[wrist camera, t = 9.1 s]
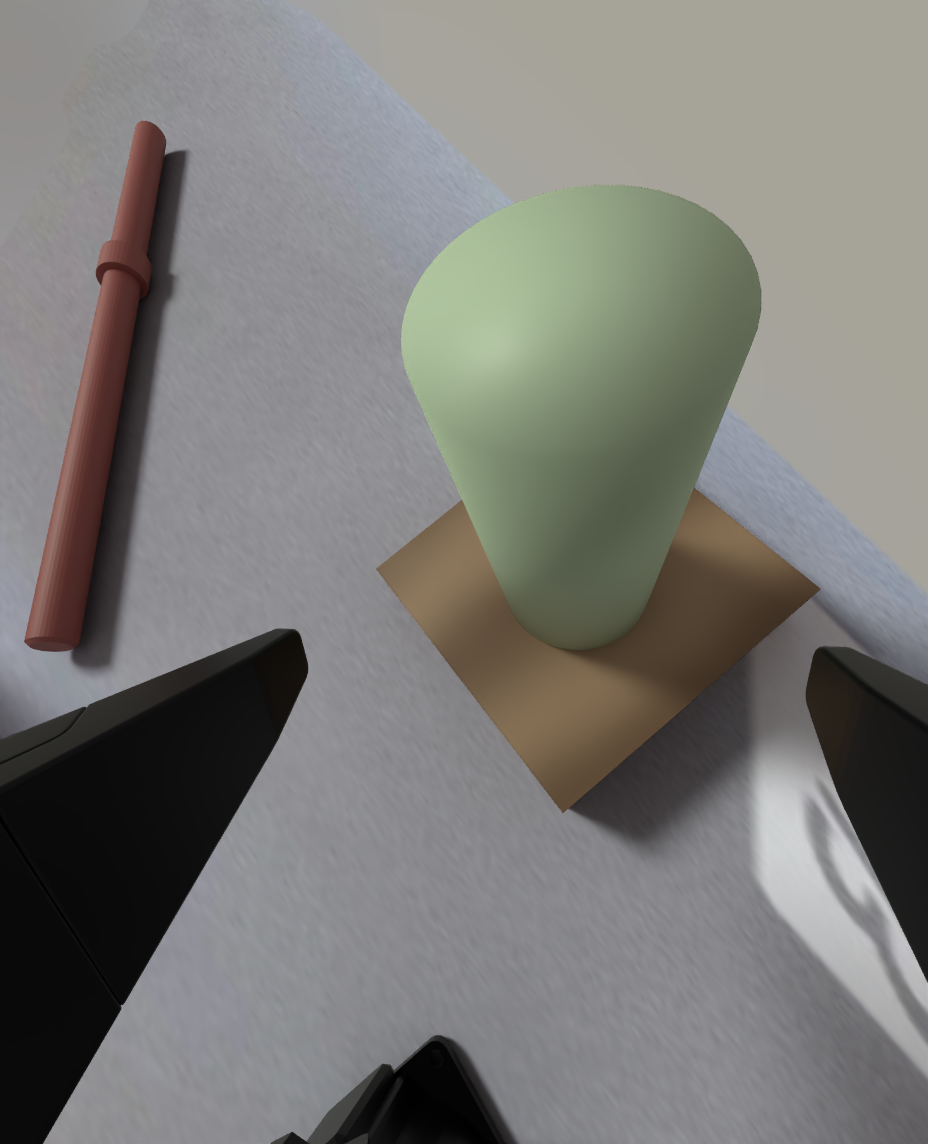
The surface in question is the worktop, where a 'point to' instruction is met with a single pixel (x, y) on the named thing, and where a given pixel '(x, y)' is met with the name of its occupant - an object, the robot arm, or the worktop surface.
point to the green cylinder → (581, 389)
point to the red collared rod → (97, 406)
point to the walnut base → (605, 674)
